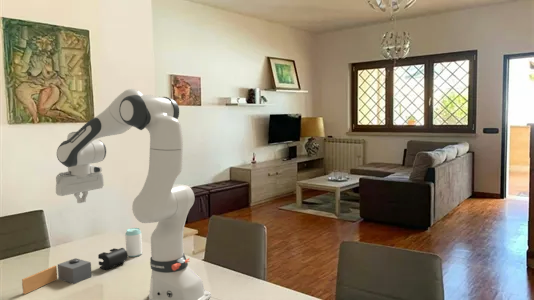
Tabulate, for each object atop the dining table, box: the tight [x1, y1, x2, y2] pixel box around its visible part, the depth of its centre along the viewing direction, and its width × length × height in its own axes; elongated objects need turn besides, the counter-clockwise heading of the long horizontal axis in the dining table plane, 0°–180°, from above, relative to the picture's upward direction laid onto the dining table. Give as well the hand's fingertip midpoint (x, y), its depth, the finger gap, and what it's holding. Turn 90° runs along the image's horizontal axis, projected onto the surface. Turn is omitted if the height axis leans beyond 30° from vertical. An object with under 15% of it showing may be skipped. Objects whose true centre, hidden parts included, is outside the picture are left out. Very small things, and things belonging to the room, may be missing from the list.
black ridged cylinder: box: [97, 247, 129, 271], centre depth 170 cm, size 10×7×7 cm
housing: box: [57, 258, 93, 285], centre depth 158 cm, size 10×8×7 cm
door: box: [21, 265, 58, 295], centre depth 151 cm, size 14×2×6 cm, turn 159°
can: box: [124, 227, 143, 258], centre depth 184 cm, size 7×7×12 cm
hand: (81, 202), depth 167 cm, fingers closed
